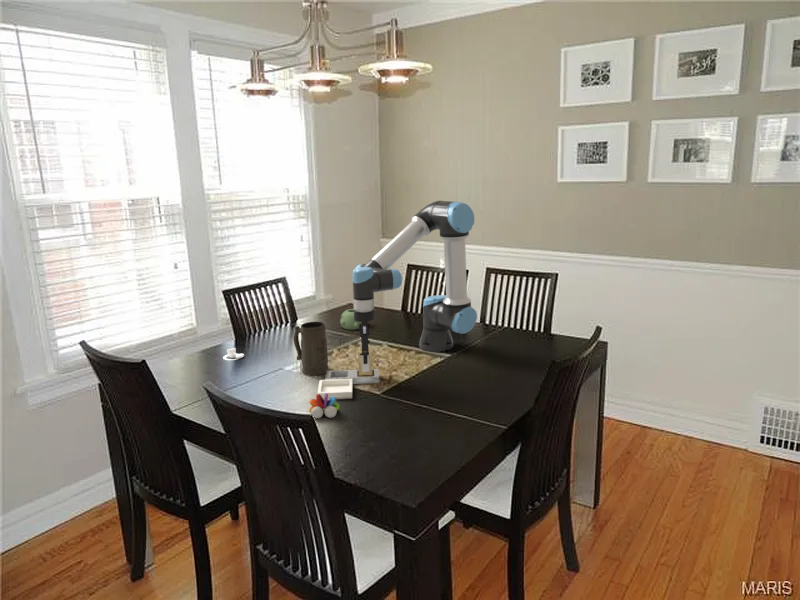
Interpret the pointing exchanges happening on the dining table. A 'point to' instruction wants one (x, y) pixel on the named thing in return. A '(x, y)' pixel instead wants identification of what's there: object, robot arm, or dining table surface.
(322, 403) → the rainbow petal fan toy
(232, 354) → the white valve handwheel
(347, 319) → the green dome pot
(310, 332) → the beer stein
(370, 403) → the dining table surface
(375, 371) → the gray rectangular frame
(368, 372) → the tan knobbed block
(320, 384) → the parts tray
